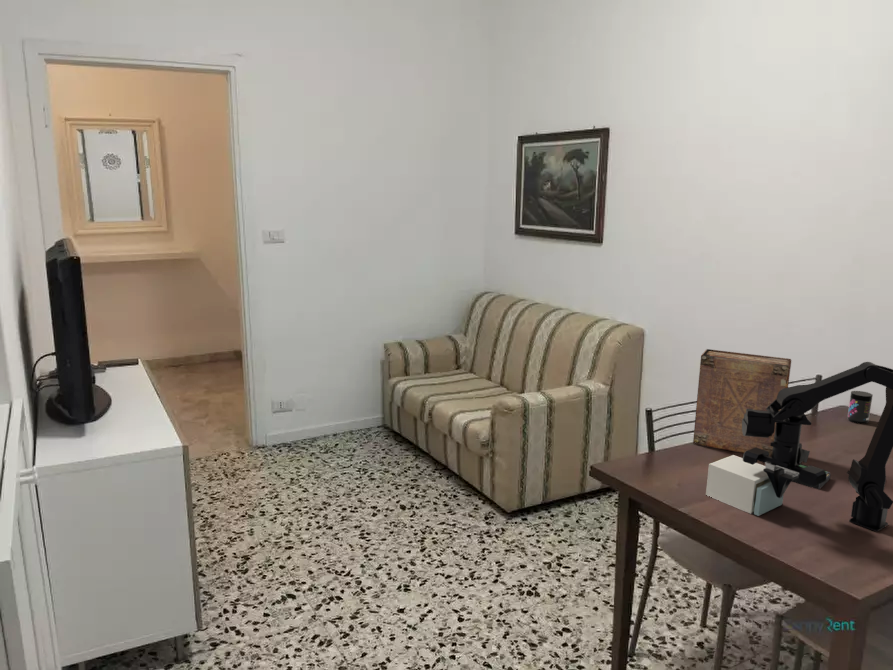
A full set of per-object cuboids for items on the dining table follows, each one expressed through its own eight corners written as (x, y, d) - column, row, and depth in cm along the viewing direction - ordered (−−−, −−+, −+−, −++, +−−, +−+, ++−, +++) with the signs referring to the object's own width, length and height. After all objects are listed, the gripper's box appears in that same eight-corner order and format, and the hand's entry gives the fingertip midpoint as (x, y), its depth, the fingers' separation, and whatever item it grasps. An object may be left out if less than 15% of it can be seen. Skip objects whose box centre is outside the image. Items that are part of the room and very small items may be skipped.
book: (780, 450, 216) (792, 359, 210) (778, 460, 209) (790, 365, 202) (697, 435, 229) (706, 348, 222) (692, 444, 221) (701, 354, 214)
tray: (782, 504, 178) (785, 478, 177) (758, 515, 172) (761, 489, 170) (735, 486, 189) (738, 462, 187) (711, 496, 182) (714, 471, 181)
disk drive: (763, 476, 198) (819, 491, 188) (764, 467, 198) (820, 481, 188) (775, 466, 206) (830, 480, 196) (776, 457, 205) (831, 470, 195)
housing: (774, 502, 180) (778, 470, 178) (750, 513, 173) (754, 481, 171) (729, 485, 190) (733, 454, 188) (705, 495, 184) (708, 463, 182)
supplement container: (850, 416, 250) (854, 389, 248) (870, 421, 246) (875, 393, 243) (844, 421, 246) (848, 393, 244) (865, 425, 241) (869, 397, 239)
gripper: (841, 444, 167) (832, 503, 170) (768, 422, 181) (761, 477, 185) (818, 453, 160) (810, 514, 163) (744, 430, 175) (738, 487, 178)
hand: (779, 497), depth 173 cm, fingers closed
